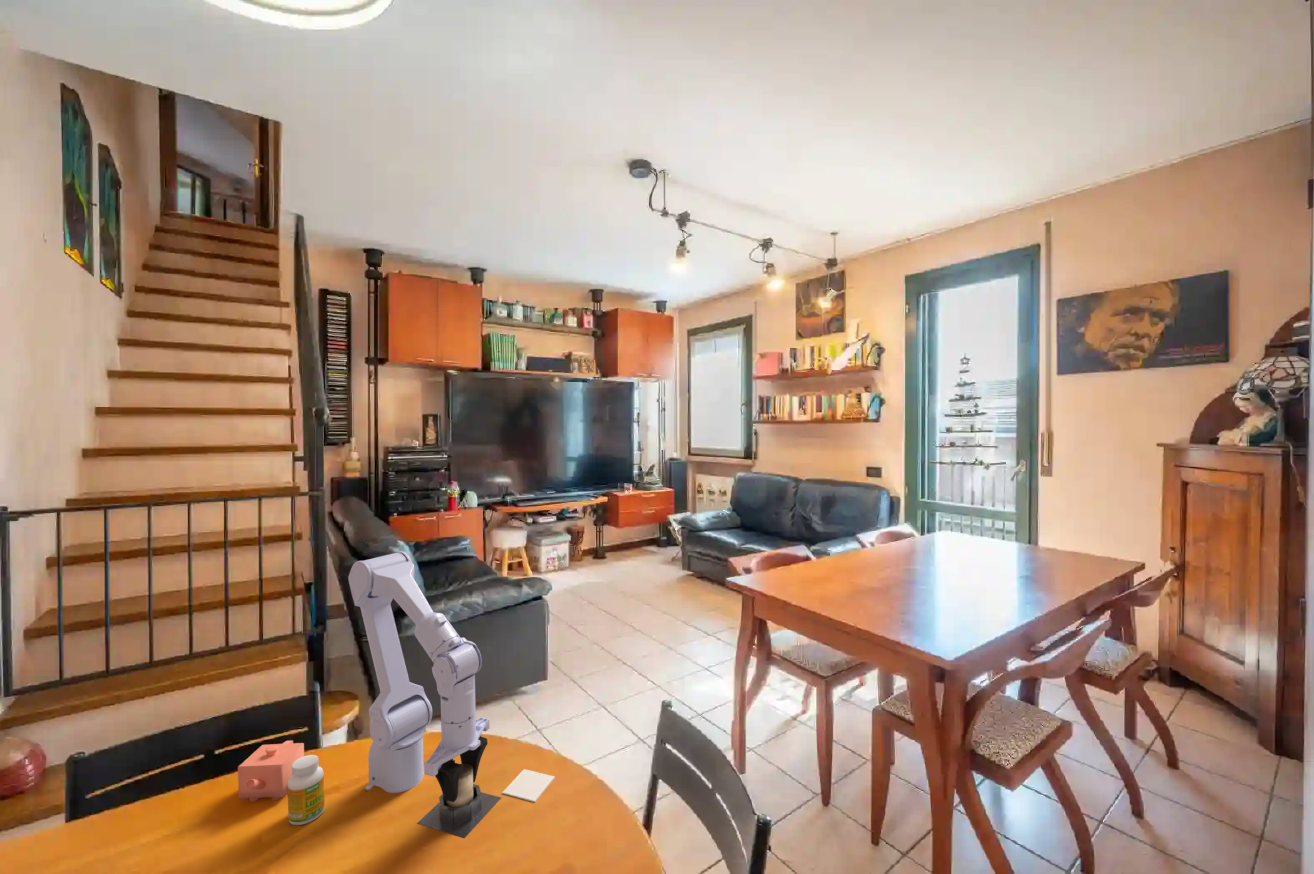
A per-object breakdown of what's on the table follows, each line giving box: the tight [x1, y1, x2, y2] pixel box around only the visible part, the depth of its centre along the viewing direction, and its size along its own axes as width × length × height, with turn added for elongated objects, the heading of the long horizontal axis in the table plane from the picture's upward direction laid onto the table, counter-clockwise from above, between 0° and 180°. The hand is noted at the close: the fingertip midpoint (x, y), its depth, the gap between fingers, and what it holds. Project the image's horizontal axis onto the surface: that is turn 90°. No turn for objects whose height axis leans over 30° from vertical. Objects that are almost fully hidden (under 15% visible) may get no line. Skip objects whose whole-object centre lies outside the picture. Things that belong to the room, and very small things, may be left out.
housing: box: [416, 783, 502, 839], centre depth 95 cm, size 10×10×3 cm
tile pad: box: [501, 768, 556, 803], centre depth 101 cm, size 7×7×1 cm
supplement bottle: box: [287, 754, 325, 826], centre depth 95 cm, size 5×5×10 cm
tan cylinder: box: [447, 764, 474, 809], centre depth 95 cm, size 4×4×7 cm
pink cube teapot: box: [237, 740, 305, 802], centre depth 101 cm, size 8×12×8 cm, turn 4°
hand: (460, 790), depth 95 cm, fingers closed on tan cylinder, 4 cm apart
